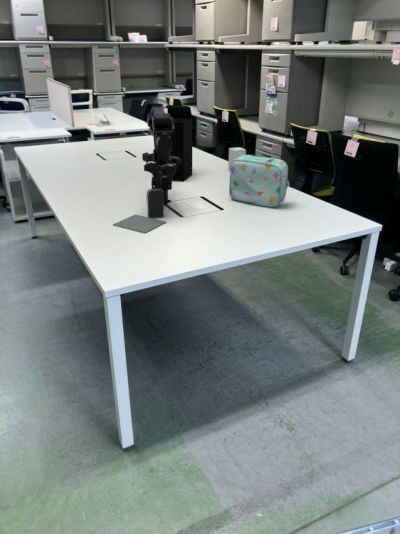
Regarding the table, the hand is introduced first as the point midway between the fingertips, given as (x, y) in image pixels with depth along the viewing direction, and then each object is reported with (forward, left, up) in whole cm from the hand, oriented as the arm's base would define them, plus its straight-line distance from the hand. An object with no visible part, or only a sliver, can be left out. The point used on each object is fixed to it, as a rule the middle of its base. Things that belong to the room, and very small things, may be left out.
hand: (163, 184), depth 182 cm
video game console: (-49, -28, -12) cm, 58 cm away
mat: (+17, 0, -12) cm, 21 cm away
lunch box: (-34, +28, -12) cm, 46 cm away
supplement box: (-81, -7, -12) cm, 82 cm away
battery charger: (+7, 0, -12) cm, 14 cm away
